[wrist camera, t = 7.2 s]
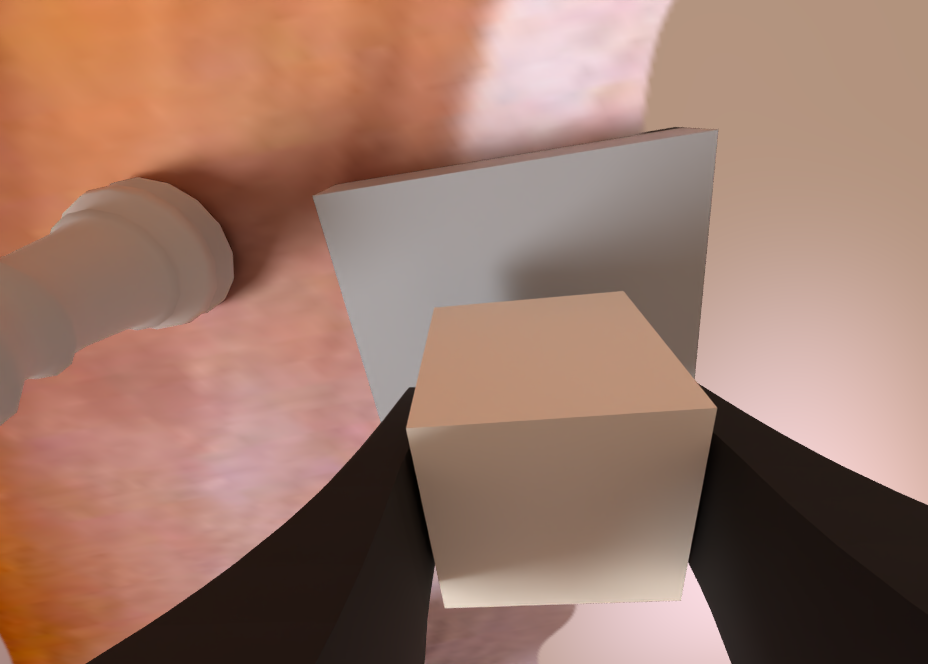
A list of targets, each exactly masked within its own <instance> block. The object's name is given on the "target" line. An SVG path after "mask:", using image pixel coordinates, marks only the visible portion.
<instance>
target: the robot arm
mask: <svg viewBox="0 0 928 664" xmlns="http://www.w3.org/2000/svg"><path fill="white" fill-rule="evenodd" d="M699 386H700V387H701V388H702V389H703V391H704V392H705V393H706V394H707V396H708V397H709V398H710V399H711V401H712V402H713V403H714V404H715V406H716V407H717V412H716V417H715V422H714V428H713V433H712V438H711V443H710V449H709V454H708V459H707V464H706V470H705V475H704V480H703V485H702V491H701V496H700V501H699V507H698V512H697V517H696V522H695V528H694V533H693V538H692V543H691V549H690V554H689V559H688V563H689V565H690V567H691V568H692V571H693V573H694V575H695V577H696V579H697V581H698V583H699V585H700V587H701V589H702V592H703V594H704V596H705V598H706V601H707V603H708V605H709V607H710V609H711V612H712V614H713V617H714V619H715V621H716V624H717V627H718V630H719V632H720V635H721V638H722V640H723V642H724V645H725V648H726V651H727V653H728V656H729V658H730V661H731V663H732V664H928V505H926V504H924V503H922V502H919V501H917V500H915V499H912V498H910V497H908V496H905V495H903V494H901V493H899V492H896V491H894V490H892V489H890V488H888V487H886V486H883V485H882V484H879V483H877V482H875V481H873V480H871V479H869V478H867V477H864V476H862V475H860V474H858V473H856V472H854V471H852V470H850V469H847V468H845V467H843V466H841V465H839V464H837V463H835V462H834V461H832V460H830V459H828V458H825V457H824V456H822V455H820V454H818V453H816V452H814V451H812V450H810V449H808V448H807V447H805V446H803V445H801V444H799V443H798V442H796V441H794V440H792V439H790V438H788V437H787V436H785V435H783V434H781V433H779V432H778V431H776V430H774V429H772V428H771V427H769V426H767V425H765V424H764V423H762V422H760V421H759V420H757V419H755V418H754V417H752V416H750V415H748V414H747V413H745V412H743V411H742V410H740V409H739V408H737V407H735V406H734V405H732V404H730V403H729V402H727V401H725V400H724V399H722V398H721V397H719V396H717V395H716V394H714V393H713V392H711V391H709V390H708V389H706V388H705V387H703V386H701V385H700V384H699ZM415 388H416V387H409V388H408V389H407V390H406V391H405V393H404V394H403V395H402V396H401V398H400V399H399V400H398V401H397V403H396V404H395V405H394V407H393V408H392V409H391V411H390V412H389V413H388V414H387V416H386V417H385V418H384V420H383V421H382V422H381V423H380V425H379V426H378V427H377V428H376V430H375V431H374V432H373V433H372V434H371V436H370V437H369V438H368V439H367V440H366V442H365V443H364V444H363V445H362V446H361V448H360V449H359V450H358V451H357V452H356V453H355V455H354V456H353V457H352V458H351V459H350V460H349V461H348V462H347V463H346V464H345V465H344V466H343V468H342V469H341V470H340V471H339V472H338V473H337V474H336V475H335V476H334V477H333V478H332V480H331V481H330V482H329V483H328V484H327V485H326V486H325V487H324V488H323V489H322V490H321V491H320V492H319V493H318V494H317V495H316V496H315V497H313V498H312V499H311V500H310V501H309V502H308V503H307V504H306V505H305V506H304V507H303V508H301V509H300V510H299V511H298V512H297V513H296V514H295V515H294V516H293V517H292V518H290V519H289V520H288V521H287V522H286V523H285V524H283V525H282V526H281V527H280V528H279V529H277V530H276V531H275V532H274V533H272V534H271V535H270V536H269V537H267V538H266V539H265V540H264V541H262V542H261V543H260V544H259V545H257V546H256V547H255V548H254V549H252V550H251V551H250V552H249V553H248V554H246V555H245V556H244V557H243V558H241V559H240V560H239V561H238V562H236V563H235V564H234V565H232V566H231V567H230V568H228V569H227V570H226V571H224V572H223V573H222V574H220V575H219V576H217V577H216V578H215V579H213V580H212V581H211V582H209V583H208V584H207V585H205V586H204V587H202V588H201V589H200V590H198V591H197V592H195V593H194V594H192V595H191V596H189V597H188V598H187V599H185V600H184V601H182V602H181V603H179V604H178V605H176V606H175V607H174V608H172V609H171V610H169V611H168V612H166V613H165V614H163V615H162V616H160V617H159V618H157V619H156V620H154V621H153V622H151V623H150V624H148V625H147V626H145V627H144V628H142V629H140V630H139V631H137V632H136V633H134V634H132V635H131V636H129V637H128V638H126V639H124V640H123V641H121V642H120V643H118V644H116V645H115V646H113V647H112V648H110V649H109V650H107V651H105V652H104V653H102V654H101V655H99V656H97V657H96V658H94V659H93V660H91V661H89V662H88V663H86V664H424V662H425V647H426V632H427V618H428V609H429V601H430V593H431V587H432V580H433V574H434V567H435V561H434V556H433V552H432V547H431V542H430V538H429V533H428V528H427V524H426V519H425V515H424V510H423V505H422V501H421V496H420V491H419V487H418V482H417V477H416V473H415V468H414V463H413V459H412V454H411V450H410V445H409V440H408V436H407V431H406V426H407V422H408V418H409V413H410V409H411V405H412V400H413V396H414V392H415Z"/></svg>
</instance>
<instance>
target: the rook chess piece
mask: <svg viewBox="0 0 928 664" xmlns="http://www.w3.org/2000/svg"><path fill="white" fill-rule="evenodd" d="M233 280H234V268H233V252H232V250H231V248H230V246H229V243H228V241H227V239H226V237H225V235H224V233H223V230H222V228H221V226H220V224H219V223H218V222H217V221H216V220H215V219H214V218H213V217H212V216H211V215H210V213H209V212H208V211H207V210H206V209H205V208H204V207H203V206H202V205H201V204H200V203H199V201H198V200H196V199H194V198H193V197H191V196H189V195H188V194H186V193H184V192H182V191H181V190H179V189H177V188H176V187H174V186H172V185H171V184H169V183H165V182H160V181H155V180H150V179H145V178H140V177H136V178H131V179H127V180H123V181H119V182H114V183H111V184H110V185H109V186H106V187H101V188H97V189H93V190H89V191H87V192H86V193H84V194H83V195H82V196H80V197H79V198H78V199H77V200H76V201H75V202H74V203H73V204H72V205H71V206H70V207H69V208H68V209H67V210H66V211H65V212H64V213H63V215H62V218H61V219H60V220H59V221H58V222H57V223H56V224H55V225H54V226H53V227H52V228H51V233H50V234H49V235H47V236H45V237H43V238H41V239H39V240H37V241H35V242H33V243H31V244H28V245H26V246H24V247H22V248H20V249H18V250H16V251H14V252H12V253H10V254H8V255H6V256H2V257H0V425H2V424H3V423H4V422H5V421H7V420H8V419H9V418H10V417H12V416H13V415H14V414H15V413H16V412H17V409H18V405H19V401H20V397H21V393H22V389H23V385H24V381H25V380H27V379H39V378H45V377H51V376H56V375H58V374H60V373H61V372H62V371H63V370H65V369H66V368H67V367H68V366H69V365H71V364H72V361H73V357H74V353H76V352H78V351H80V350H81V349H83V348H85V347H86V346H88V345H90V344H93V343H95V342H98V341H100V340H103V339H105V338H107V337H110V336H112V335H115V334H117V333H120V332H122V331H124V330H127V329H133V330H141V329H146V328H153V329H161V328H166V327H172V326H177V325H182V324H186V323H189V322H191V321H193V320H194V319H195V318H197V317H198V316H199V315H201V314H203V313H208V312H209V311H210V310H212V309H213V308H214V307H216V306H217V305H218V304H220V303H221V302H222V301H224V300H225V298H226V296H227V294H228V291H229V289H230V287H231V284H232V282H233Z"/></svg>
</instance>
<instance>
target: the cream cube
mask: <svg viewBox="0 0 928 664" xmlns="http://www.w3.org/2000/svg"><path fill="white" fill-rule="evenodd" d="M716 412H717V407H716V406H715V404H714V403H713V402H712V401H711V399H710V398H709V397H708V396H707V394H706V393H705V392H704V391H703V389H702V388H701V387H700V386H699V384H698V383H697V382H696V381H695V380H694V378H693V377H692V376H691V375H690V373H689V372H688V371H687V370H686V368H685V367H684V366H683V365H682V363H681V362H680V361H679V360H678V358H677V357H676V356H675V355H674V353H673V352H672V351H671V350H670V348H669V347H668V346H667V345H666V343H665V342H664V341H663V340H662V338H661V337H660V336H659V335H658V333H657V332H656V331H655V330H654V328H653V327H652V326H651V325H650V323H649V322H648V321H647V320H646V318H645V317H644V316H643V315H642V313H641V312H640V311H639V310H638V308H637V307H636V306H635V305H634V303H633V302H632V301H631V300H630V298H629V297H628V296H627V295H626V293H625V292H624V291H617V292H606V293H594V294H583V295H572V296H560V297H549V298H538V299H526V300H515V301H504V302H492V303H481V304H470V305H458V306H447V307H436V308H434V310H433V315H432V319H431V323H430V328H429V332H428V336H427V340H426V345H425V349H424V353H423V358H422V362H421V366H420V370H419V375H418V379H417V383H416V388H415V392H414V396H413V400H412V405H411V409H410V413H409V418H408V422H407V426H406V431H407V436H408V440H409V445H410V450H411V454H412V459H413V463H414V468H415V473H416V477H417V482H418V487H419V491H420V496H421V501H422V505H423V510H424V515H425V519H426V524H427V528H428V533H429V538H430V542H431V547H432V552H433V556H434V561H435V566H436V570H437V575H438V580H439V584H440V589H441V593H442V598H443V603H444V607H445V608H468V607H499V606H530V605H560V604H589V603H590V604H591V603H620V602H648V601H649V602H652V601H680V600H681V596H682V590H683V586H684V580H685V575H686V570H687V564H688V559H689V554H690V549H691V543H692V538H693V533H694V528H695V522H696V517H697V512H698V507H699V501H700V496H701V491H702V485H703V480H704V475H705V470H706V464H707V459H708V454H709V449H710V443H711V438H712V433H713V428H714V422H715V417H716Z"/></svg>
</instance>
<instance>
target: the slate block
mask: <svg viewBox="0 0 928 664" xmlns="http://www.w3.org/2000/svg"><path fill="white" fill-rule="evenodd" d="M717 138H718V130H715V129H700V128H684V127H672V128H666V129H660V130H654V131H648V132H643V134H640V135H634V136H628V137H622V138H616V139H610V140H603V141H597V142H591V143H585V144H579V145H573V146H567V147H561V148H555V149H549V150H543V151H537V152H531V153H524V154H518V155H512V156H506V157H500V158H494V159H488V160H482V161H476V162H470V163H464V164H458V165H452V166H446V167H439V168H433V169H427V170H421V171H415V172H409V173H403V174H397V175H391V176H385V177H379V178H373V179H367V180H361V181H354V182H348V183H342V184H336V185H334V186H332V187H330V188H328V189H326V190H324V191H322V192H320V193H317V194H315V195H313V200H314V203H315V206H316V210H317V213H318V216H319V220H320V223H321V226H322V229H323V233H324V236H325V239H326V243H327V246H328V249H329V253H330V256H331V259H332V262H333V266H334V269H335V272H336V276H337V279H338V282H339V286H340V289H341V292H342V296H343V299H344V302H345V305H346V309H347V312H348V315H349V319H350V322H351V325H352V329H353V332H354V335H355V338H356V342H357V345H358V348H359V352H360V355H361V358H362V362H363V365H364V368H365V372H366V375H367V378H368V381H369V385H370V388H371V391H372V395H373V398H374V401H375V405H376V408H377V411H378V414H379V418H380V421H381V422H382V421H383V420H384V418H385V417H386V416H387V414H388V413H389V412H390V411H391V409H392V408H393V407H394V405H395V404H396V403H397V401H398V400H399V399H400V398H401V396H402V395H403V394H404V393H405V391H406V390H407V389H408V388H409V387H416V383H417V379H418V375H419V370H420V366H421V362H422V358H423V353H424V349H425V345H426V340H427V336H428V332H429V328H430V323H431V319H432V315H433V310H434V308H436V307H447V306H458V305H470V304H481V303H492V302H504V301H515V300H526V299H538V298H549V297H560V296H572V295H583V294H594V293H606V292H617V291H624V292H625V293H626V295H627V296H628V297H629V298H630V300H631V301H632V302H633V303H634V305H635V306H636V307H637V308H638V310H639V311H640V312H641V313H642V315H643V316H644V317H645V318H646V320H647V321H648V322H649V323H650V325H651V326H652V327H653V328H654V330H655V331H656V332H657V333H658V335H659V336H660V337H661V338H662V340H663V341H664V342H665V343H666V345H667V346H668V347H669V348H670V350H671V351H672V352H673V353H674V355H675V356H676V357H677V358H678V360H679V361H680V362H681V363H682V365H683V366H684V367H685V368H686V370H687V371H688V372H689V373H690V375H691V376H692V377H693V378H694V380H695V369H696V359H697V348H698V338H699V327H700V317H701V316H700V315H701V305H702V296H703V284H704V274H705V264H706V254H707V243H708V231H709V221H710V212H711V201H712V191H713V179H714V170H715V158H716V149H717Z"/></svg>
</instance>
